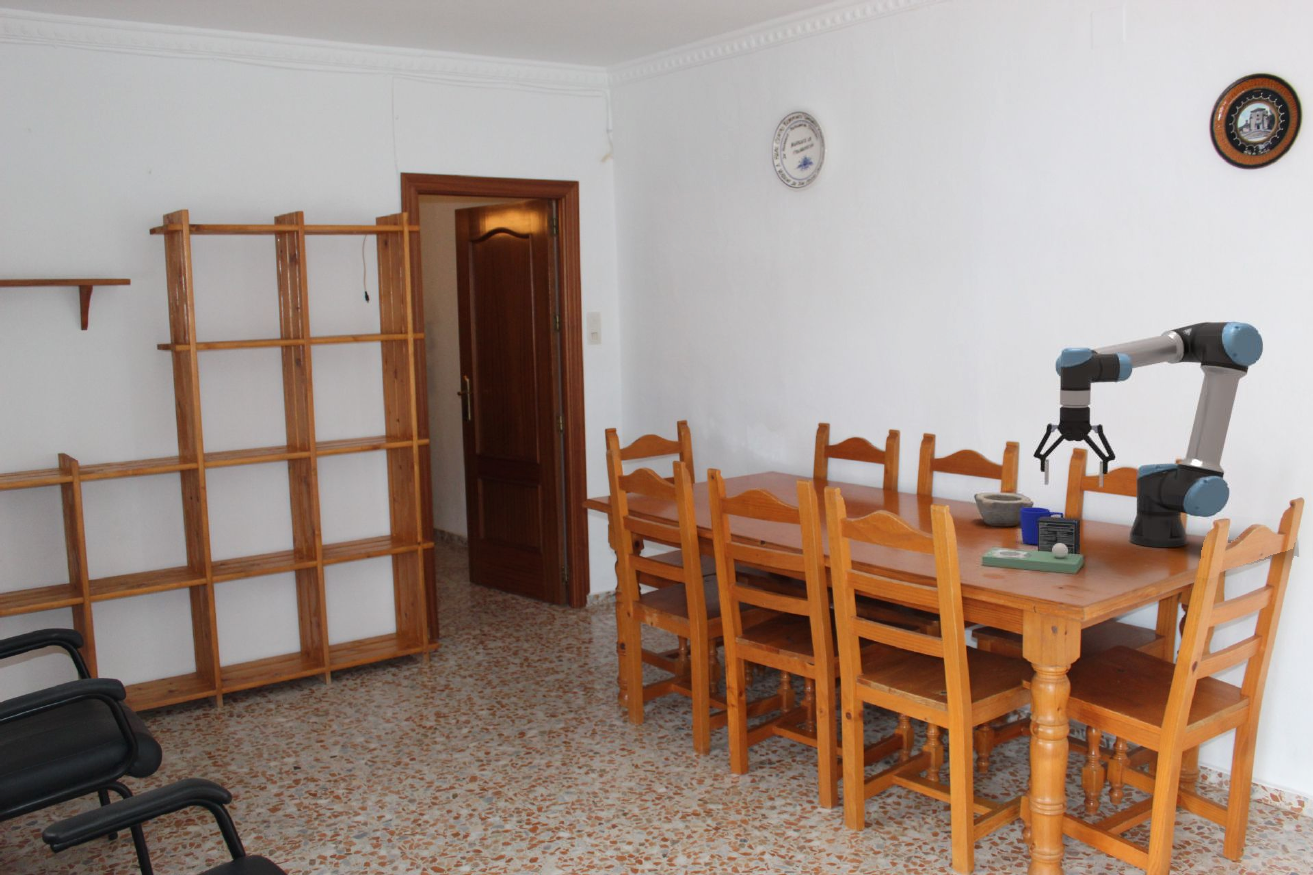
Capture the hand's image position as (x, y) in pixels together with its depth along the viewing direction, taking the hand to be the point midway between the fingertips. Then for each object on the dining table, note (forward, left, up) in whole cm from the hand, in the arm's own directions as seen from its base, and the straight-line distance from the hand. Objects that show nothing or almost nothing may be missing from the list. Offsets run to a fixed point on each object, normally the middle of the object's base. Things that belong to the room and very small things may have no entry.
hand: (1073, 485), depth 281 cm
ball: (+3, +4, -17) cm, 18 cm away
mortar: (+29, -47, -22) cm, 60 cm away
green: (+10, +4, -22) cm, 24 cm away
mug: (+12, -24, -22) cm, 35 cm away
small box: (+5, -10, -22) cm, 25 cm away
